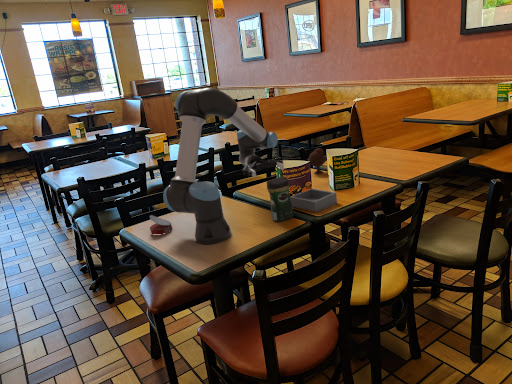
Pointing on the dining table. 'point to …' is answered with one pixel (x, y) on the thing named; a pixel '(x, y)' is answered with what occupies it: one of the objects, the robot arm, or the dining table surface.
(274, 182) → the coffee jar
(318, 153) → the ice cream bowl
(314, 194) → the open box
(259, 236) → the dining table surface
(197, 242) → the robot arm
